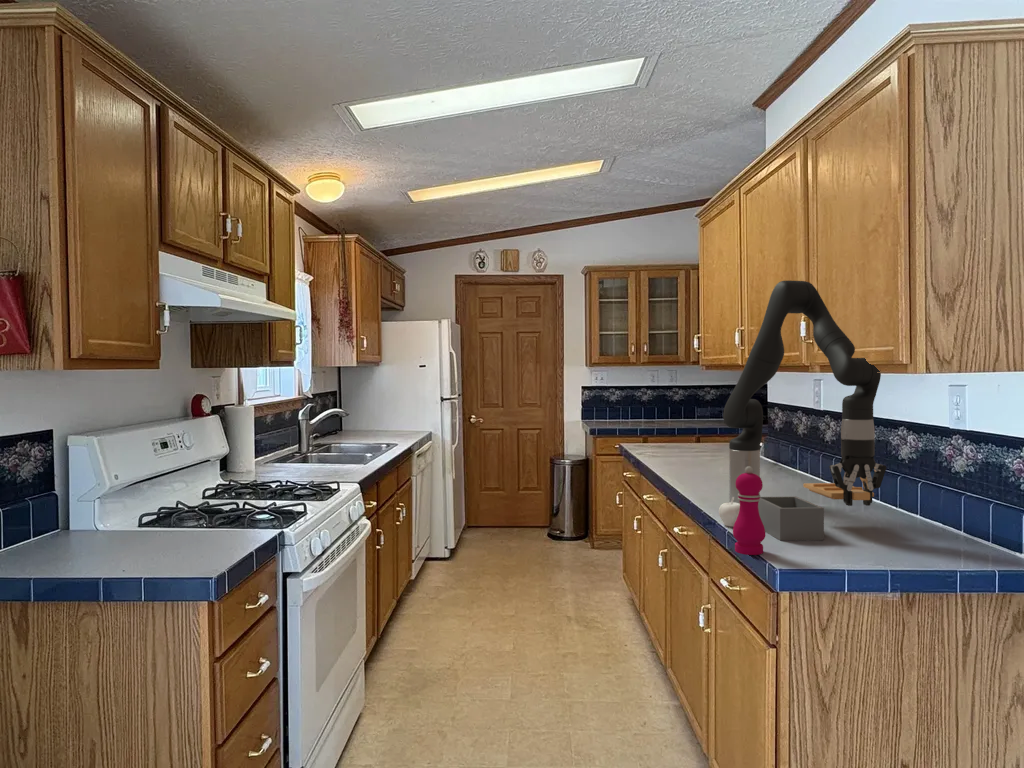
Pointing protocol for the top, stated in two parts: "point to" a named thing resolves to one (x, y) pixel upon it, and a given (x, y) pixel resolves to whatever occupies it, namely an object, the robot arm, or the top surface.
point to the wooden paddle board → (836, 491)
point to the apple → (729, 513)
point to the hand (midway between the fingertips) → (857, 504)
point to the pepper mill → (749, 515)
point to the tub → (791, 518)
